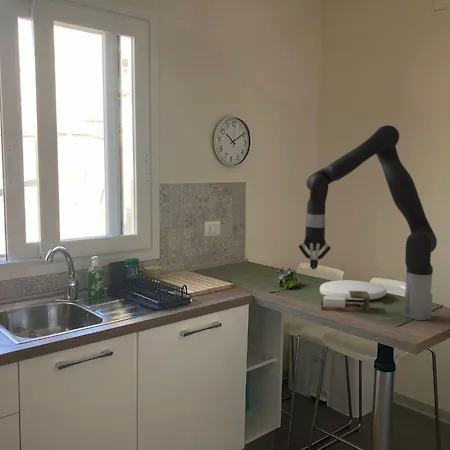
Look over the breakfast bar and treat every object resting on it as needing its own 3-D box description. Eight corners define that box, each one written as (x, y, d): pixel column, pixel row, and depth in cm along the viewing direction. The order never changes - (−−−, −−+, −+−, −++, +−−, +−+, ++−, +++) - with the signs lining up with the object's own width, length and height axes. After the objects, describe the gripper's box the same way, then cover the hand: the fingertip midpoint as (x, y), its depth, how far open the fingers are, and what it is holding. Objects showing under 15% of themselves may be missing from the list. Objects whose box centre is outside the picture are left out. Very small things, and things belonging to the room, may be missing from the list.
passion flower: (280, 297, 246) (277, 273, 251) (303, 294, 244) (300, 270, 249) (276, 288, 236) (274, 264, 242) (300, 285, 234) (297, 261, 240)
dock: (366, 309, 208) (367, 291, 207) (368, 315, 200) (369, 297, 199) (320, 306, 211) (321, 289, 210) (321, 312, 203) (322, 294, 202)
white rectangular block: (343, 306, 208) (344, 296, 207) (344, 310, 203) (345, 300, 203) (323, 305, 209) (323, 295, 209) (323, 309, 204) (324, 299, 204)
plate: (309, 286, 225) (333, 276, 247) (310, 301, 225) (334, 289, 247) (373, 290, 209) (393, 278, 231) (374, 306, 209) (393, 293, 231)
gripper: (332, 224, 206) (330, 267, 208) (298, 223, 208) (296, 266, 210) (333, 227, 199) (331, 271, 201) (298, 226, 201) (296, 270, 203)
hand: (313, 268), depth 206 cm, fingers closed
